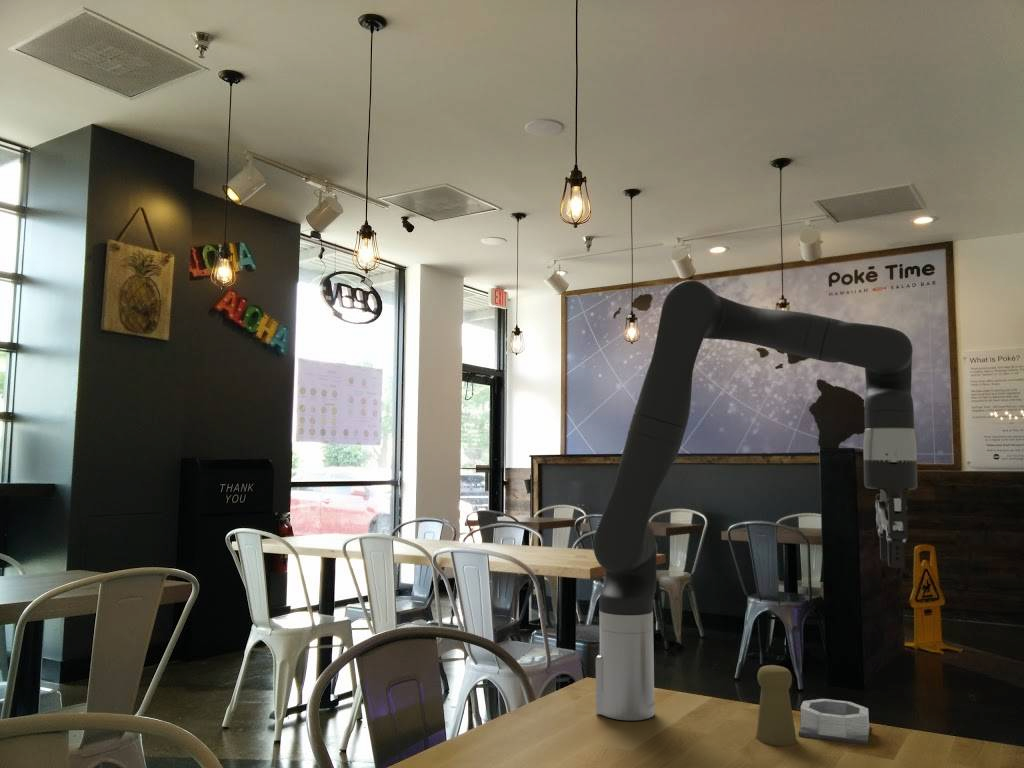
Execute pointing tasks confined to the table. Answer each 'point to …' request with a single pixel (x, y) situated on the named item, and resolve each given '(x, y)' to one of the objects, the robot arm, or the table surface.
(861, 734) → the duct collar
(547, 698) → the table surface
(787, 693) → the cork
